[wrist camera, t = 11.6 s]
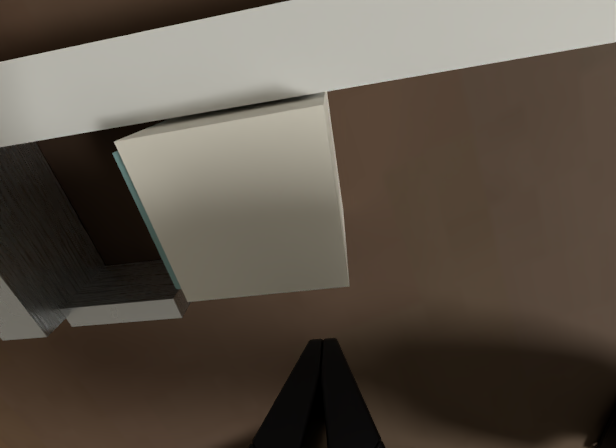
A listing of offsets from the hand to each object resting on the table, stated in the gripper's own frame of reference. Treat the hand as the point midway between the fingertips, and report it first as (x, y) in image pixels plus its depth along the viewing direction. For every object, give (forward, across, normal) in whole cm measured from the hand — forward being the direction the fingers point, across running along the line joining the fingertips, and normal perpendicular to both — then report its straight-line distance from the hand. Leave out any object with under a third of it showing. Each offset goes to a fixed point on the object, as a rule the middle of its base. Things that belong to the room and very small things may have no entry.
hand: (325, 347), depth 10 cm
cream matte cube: (+5, +2, -4) cm, 7 cm away
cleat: (+5, +9, -3) cm, 11 cm away
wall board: (+5, +2, -8) cm, 10 cm away
